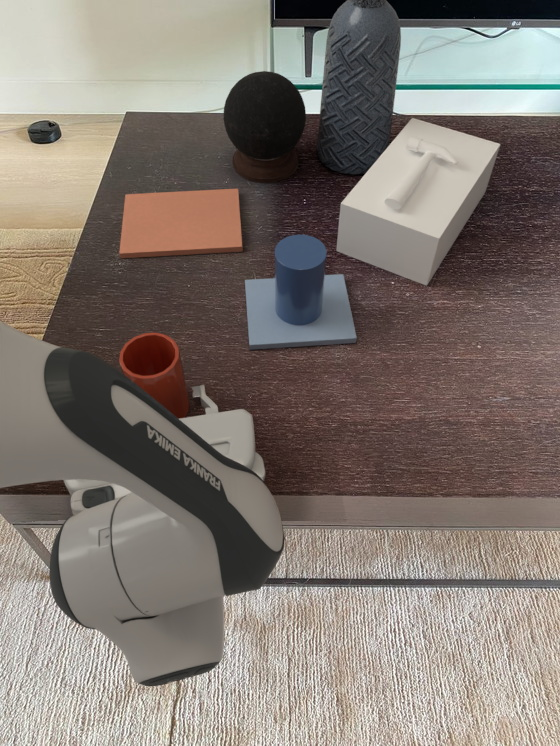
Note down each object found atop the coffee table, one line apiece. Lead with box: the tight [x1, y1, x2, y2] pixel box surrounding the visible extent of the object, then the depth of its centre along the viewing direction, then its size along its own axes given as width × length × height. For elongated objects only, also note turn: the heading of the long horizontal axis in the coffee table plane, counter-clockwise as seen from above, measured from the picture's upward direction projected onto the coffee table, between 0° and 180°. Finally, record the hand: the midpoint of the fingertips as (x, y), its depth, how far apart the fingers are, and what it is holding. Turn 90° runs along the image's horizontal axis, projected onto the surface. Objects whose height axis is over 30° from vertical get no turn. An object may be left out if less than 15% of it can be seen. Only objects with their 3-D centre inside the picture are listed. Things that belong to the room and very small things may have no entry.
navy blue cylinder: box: [274, 234, 328, 325], centre depth 80 cm, size 6×6×10 cm
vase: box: [316, 0, 402, 175], centre depth 96 cm, size 12×12×28 cm
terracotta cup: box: [118, 332, 190, 419], centre depth 71 cm, size 6×6×10 cm
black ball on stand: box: [223, 70, 307, 184], centre depth 100 cm, size 13×13×15 cm
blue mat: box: [244, 273, 358, 351], centre depth 84 cm, size 14×12×1 cm
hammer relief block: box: [335, 117, 501, 287], centre depth 92 cm, size 14×25×11 cm, turn 150°
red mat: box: [118, 188, 244, 259], centre depth 96 cm, size 18×14×1 cm
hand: (156, 394), depth 70 cm, fingers open, 8 cm apart
